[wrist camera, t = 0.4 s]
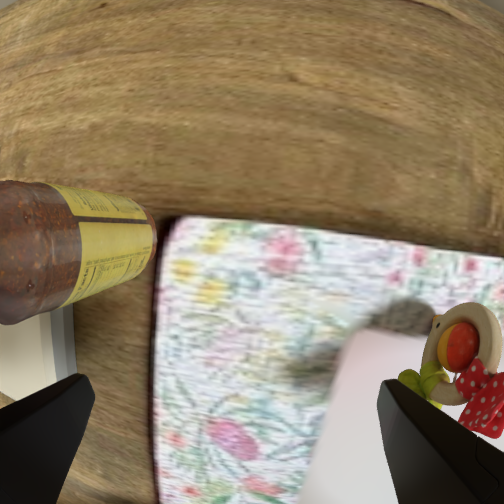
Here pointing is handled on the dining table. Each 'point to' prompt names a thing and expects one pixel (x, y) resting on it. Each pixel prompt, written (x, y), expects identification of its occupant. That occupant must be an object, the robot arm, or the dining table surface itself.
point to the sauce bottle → (66, 245)
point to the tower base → (37, 352)
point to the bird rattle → (464, 367)
